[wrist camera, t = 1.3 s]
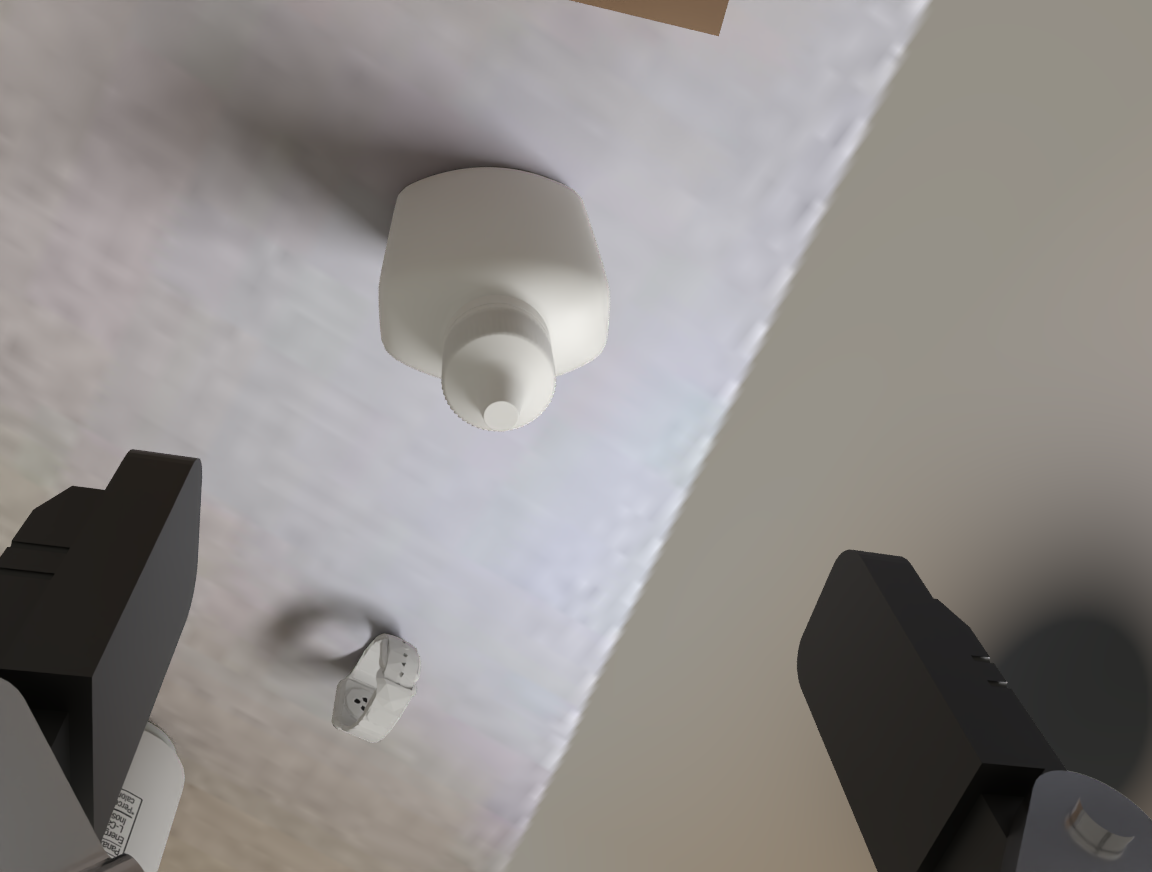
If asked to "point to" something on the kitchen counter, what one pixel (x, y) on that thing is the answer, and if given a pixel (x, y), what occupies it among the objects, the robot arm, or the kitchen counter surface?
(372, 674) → the smartwatch
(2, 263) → the kitchen counter surface
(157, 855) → the energy drink can
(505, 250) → the eye dropper bottle
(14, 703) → the robot arm
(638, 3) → the socket block
